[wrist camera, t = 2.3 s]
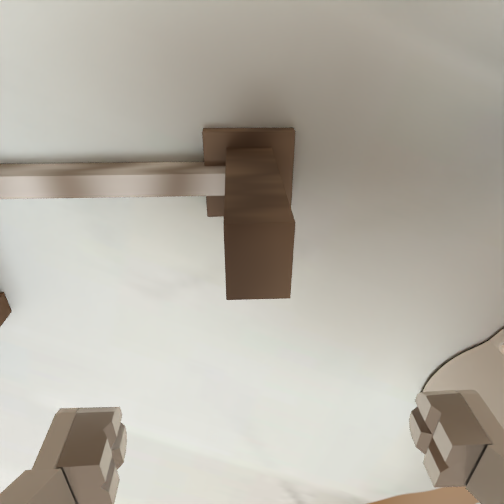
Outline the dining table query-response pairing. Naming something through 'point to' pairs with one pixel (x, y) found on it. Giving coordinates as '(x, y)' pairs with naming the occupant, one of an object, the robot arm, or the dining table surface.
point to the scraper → (200, 184)
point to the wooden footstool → (4, 308)
